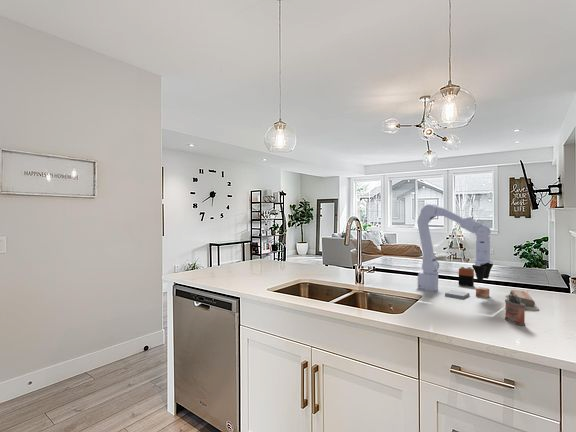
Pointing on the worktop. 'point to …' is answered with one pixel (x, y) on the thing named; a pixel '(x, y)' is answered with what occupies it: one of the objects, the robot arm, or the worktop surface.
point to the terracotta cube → (482, 292)
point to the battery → (466, 276)
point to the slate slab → (457, 294)
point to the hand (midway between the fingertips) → (482, 279)
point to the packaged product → (525, 299)
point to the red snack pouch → (515, 310)
